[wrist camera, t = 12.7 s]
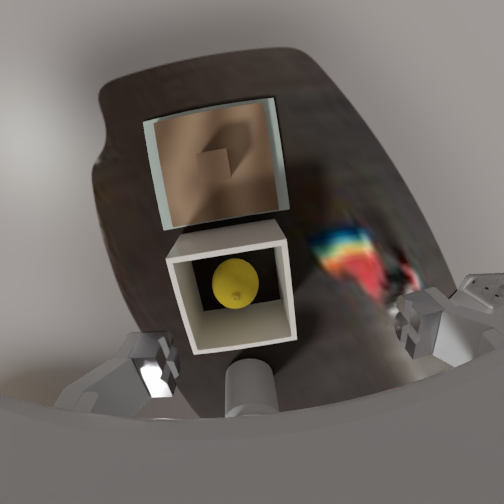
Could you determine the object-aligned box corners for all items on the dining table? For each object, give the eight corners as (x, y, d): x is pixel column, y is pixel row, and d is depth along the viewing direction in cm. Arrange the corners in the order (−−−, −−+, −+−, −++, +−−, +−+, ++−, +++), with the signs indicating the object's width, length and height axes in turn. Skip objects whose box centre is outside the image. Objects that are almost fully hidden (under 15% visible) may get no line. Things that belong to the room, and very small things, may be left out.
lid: (262, 103, 32) (266, 96, 27) (277, 207, 36) (284, 216, 31) (155, 123, 32) (143, 119, 27) (174, 225, 36) (165, 236, 31)
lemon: (214, 249, 38) (209, 274, 30) (257, 250, 38) (263, 275, 31) (214, 288, 40) (209, 319, 32) (255, 289, 40) (259, 320, 32)
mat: (273, 98, 32) (273, 97, 32) (289, 208, 37) (289, 209, 36) (144, 122, 32) (143, 122, 32) (164, 229, 37) (163, 230, 36)
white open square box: (274, 218, 37) (286, 238, 28) (285, 302, 41) (297, 339, 32) (180, 234, 37) (165, 258, 28) (200, 315, 41) (193, 354, 32)
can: (228, 389, 46) (227, 445, 35) (223, 356, 44) (221, 414, 32) (272, 386, 46) (281, 441, 35) (271, 353, 44) (282, 410, 32)
